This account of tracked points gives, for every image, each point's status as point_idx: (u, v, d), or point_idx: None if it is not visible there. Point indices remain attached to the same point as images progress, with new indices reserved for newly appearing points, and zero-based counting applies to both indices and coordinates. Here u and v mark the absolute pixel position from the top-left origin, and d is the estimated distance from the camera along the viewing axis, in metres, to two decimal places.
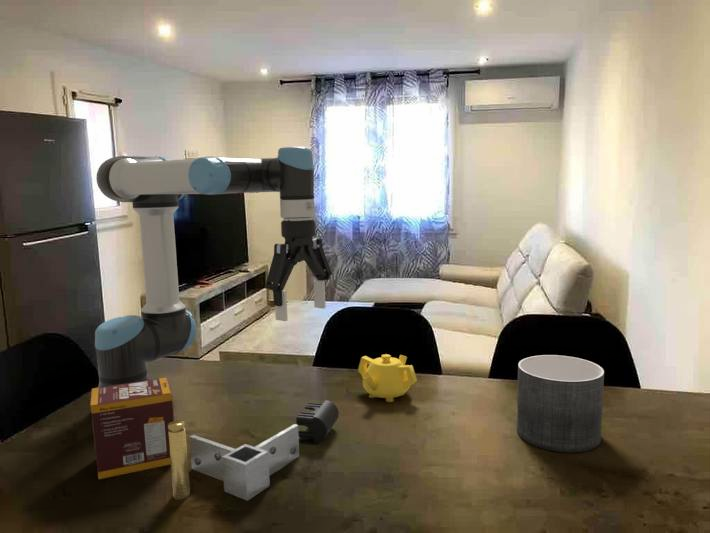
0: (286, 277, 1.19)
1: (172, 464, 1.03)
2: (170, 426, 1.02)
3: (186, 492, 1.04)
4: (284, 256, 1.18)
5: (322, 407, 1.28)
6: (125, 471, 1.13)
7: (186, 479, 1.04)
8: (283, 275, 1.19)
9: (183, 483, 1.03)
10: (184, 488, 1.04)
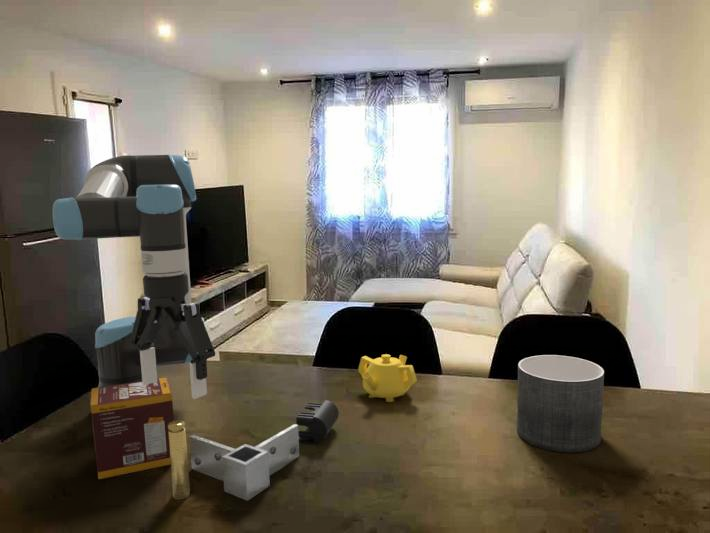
0: (143, 336, 1.03)
1: (172, 464, 1.03)
2: (170, 426, 1.02)
3: (186, 492, 1.04)
4: (139, 312, 1.02)
5: (322, 407, 1.28)
6: (125, 471, 1.13)
7: (186, 479, 1.04)
8: None
9: (183, 483, 1.03)
10: (184, 488, 1.04)
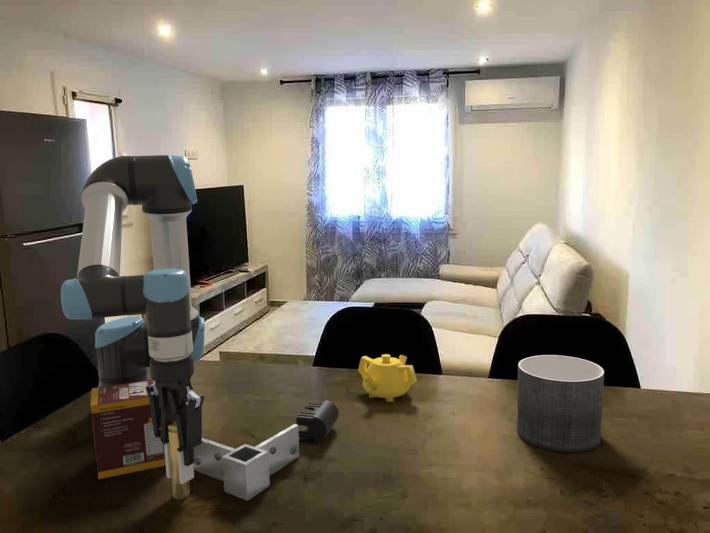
0: (162, 426, 1.03)
1: (172, 464, 1.03)
2: (170, 426, 1.02)
3: (186, 492, 1.04)
4: (151, 399, 1.04)
5: (322, 407, 1.28)
6: (125, 471, 1.13)
7: None
8: None
9: (183, 483, 1.03)
10: (184, 487, 1.04)
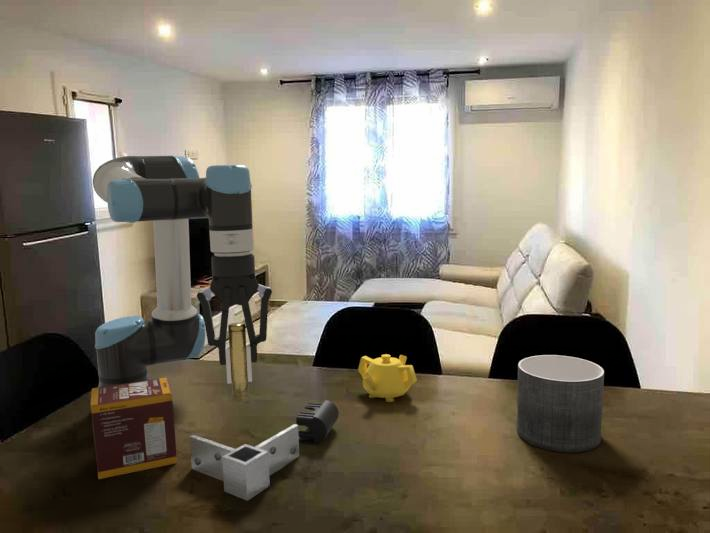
0: (223, 330, 1.00)
1: (238, 365, 1.01)
2: (236, 326, 1.00)
3: (248, 392, 1.04)
4: (206, 305, 0.99)
5: (322, 407, 1.28)
6: (125, 471, 1.13)
7: None
8: (220, 329, 1.00)
9: (247, 383, 1.03)
10: (248, 387, 1.03)
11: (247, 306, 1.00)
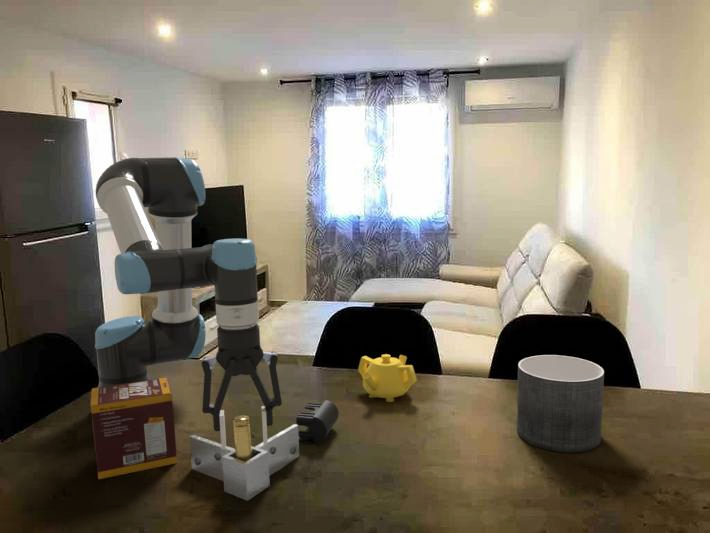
0: (220, 398, 1.02)
1: (243, 459, 1.04)
2: (240, 421, 1.03)
3: None
4: (208, 374, 1.01)
5: (322, 407, 1.28)
6: (125, 471, 1.13)
7: None
8: (217, 396, 1.02)
9: None
10: None
11: (255, 375, 1.02)
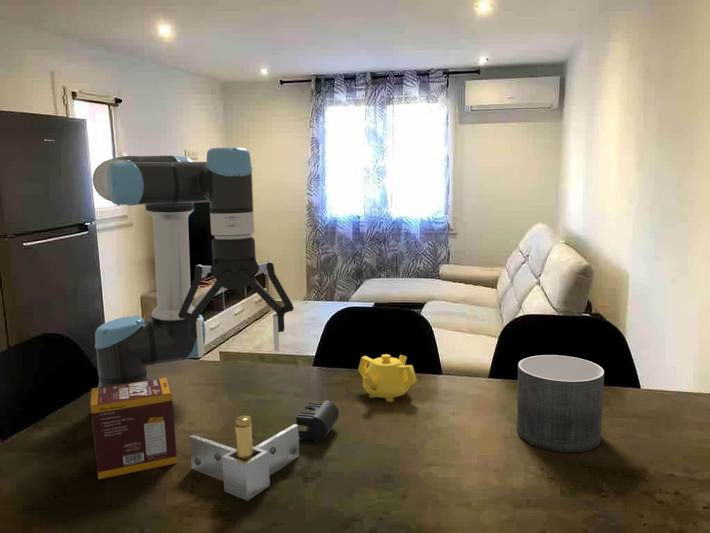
0: (201, 305, 0.99)
1: (244, 459, 1.04)
2: (242, 421, 1.03)
3: None
4: (198, 280, 0.99)
5: (322, 407, 1.28)
6: (125, 471, 1.13)
7: None
8: (199, 303, 1.00)
9: None
10: None
11: (255, 284, 1.00)
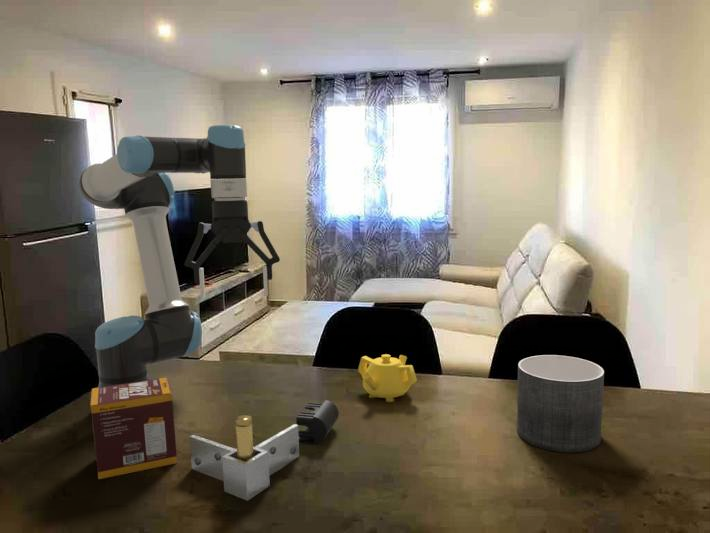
0: (203, 256, 1.20)
1: (245, 459, 1.04)
2: (243, 421, 1.03)
3: None
4: (200, 235, 1.20)
5: (322, 407, 1.28)
6: (125, 471, 1.13)
7: None
8: (202, 254, 1.21)
9: None
10: None
11: (248, 239, 1.21)
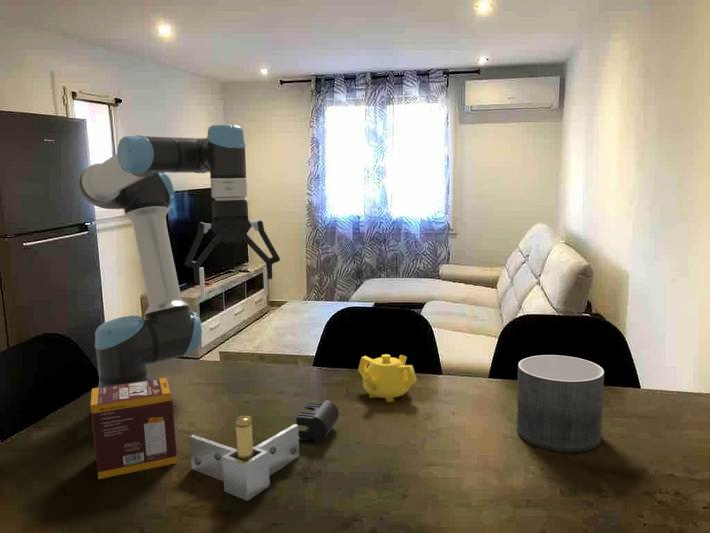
0: (203, 256, 1.21)
1: (245, 459, 1.04)
2: (242, 421, 1.03)
3: None
4: (200, 235, 1.20)
5: (322, 407, 1.28)
6: (125, 471, 1.13)
7: None
8: (202, 254, 1.21)
9: None
10: None
11: (248, 238, 1.21)
